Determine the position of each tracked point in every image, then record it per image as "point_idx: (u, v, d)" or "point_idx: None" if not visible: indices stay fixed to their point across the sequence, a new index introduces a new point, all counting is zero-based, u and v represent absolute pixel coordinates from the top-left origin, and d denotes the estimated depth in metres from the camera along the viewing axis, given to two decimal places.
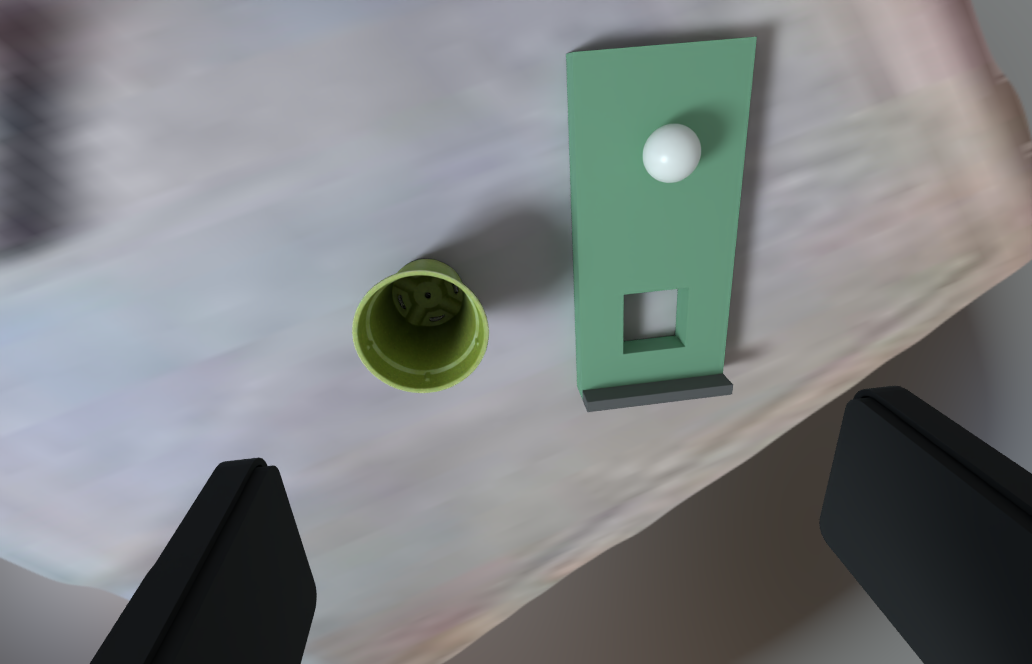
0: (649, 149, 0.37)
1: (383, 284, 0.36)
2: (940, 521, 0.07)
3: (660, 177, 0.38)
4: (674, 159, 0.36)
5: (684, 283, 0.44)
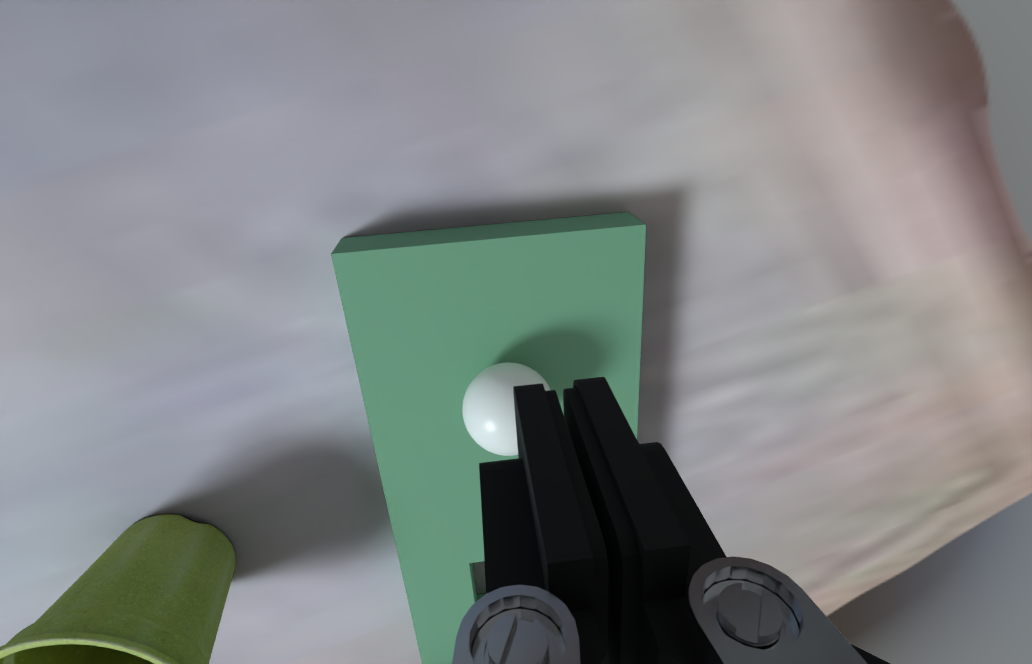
0: (465, 411, 0.22)
1: None
2: None
3: (488, 450, 0.23)
4: (501, 438, 0.21)
5: None
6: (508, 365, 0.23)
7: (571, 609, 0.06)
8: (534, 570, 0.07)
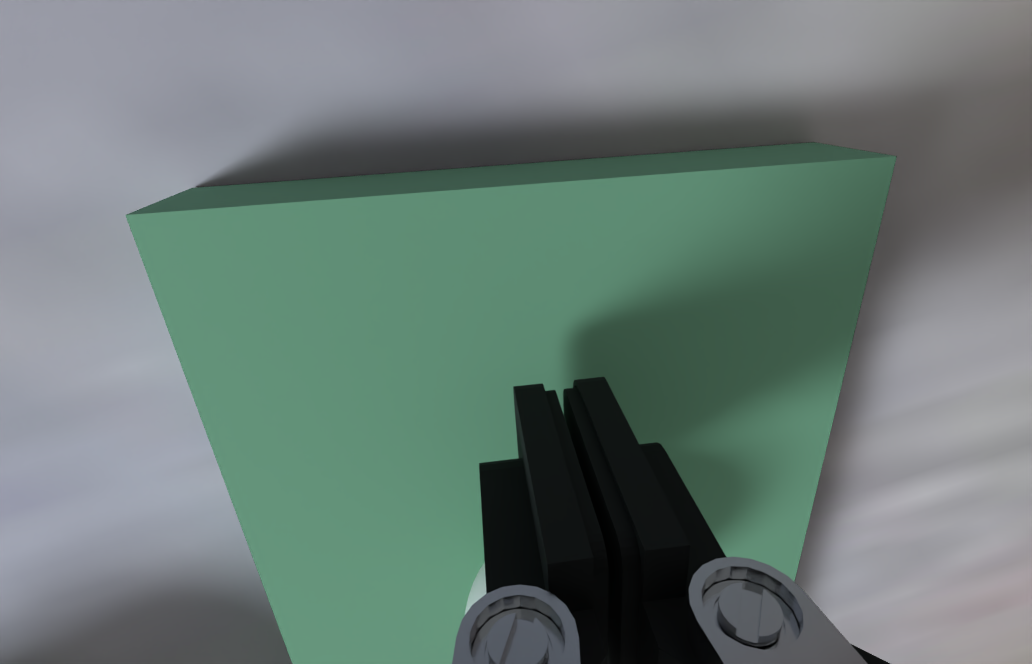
0: None
1: None
2: None
3: None
4: None
5: None
6: None
7: (571, 609, 0.06)
8: (534, 570, 0.07)
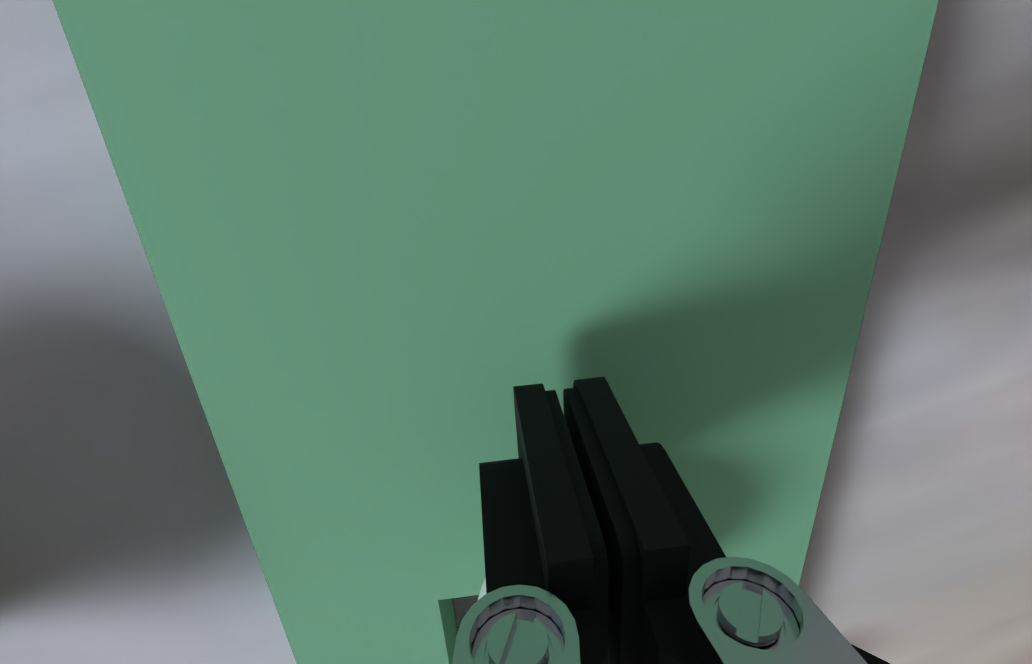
0: (479, 597, 0.11)
1: None
2: None
3: None
4: None
5: None
6: None
7: (571, 609, 0.06)
8: (534, 570, 0.07)
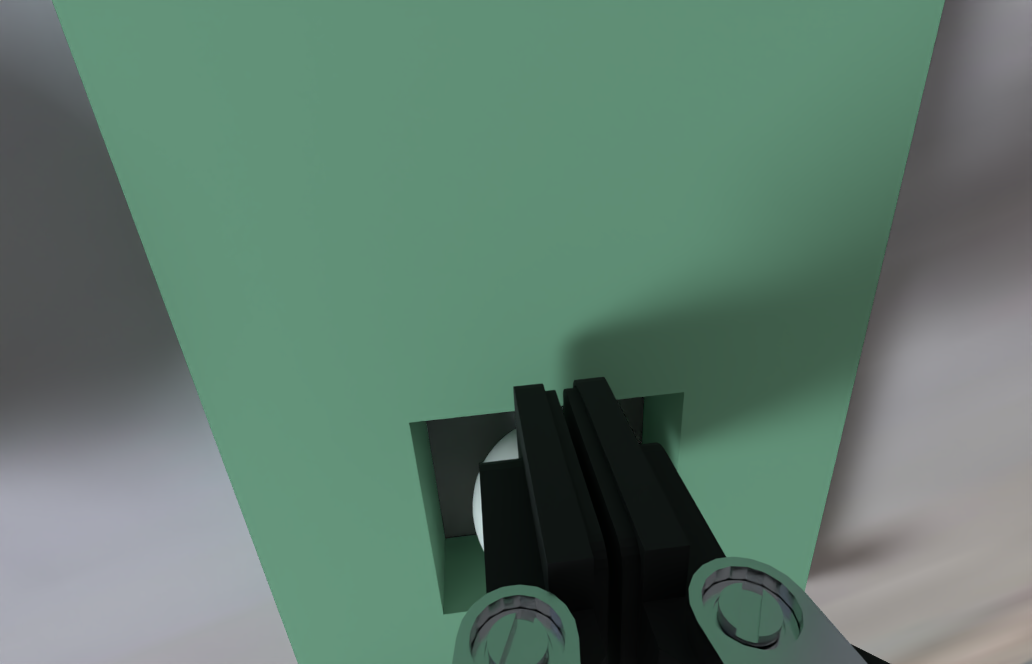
0: None
1: None
2: None
3: None
4: None
5: (665, 377, 0.11)
6: None
7: (571, 609, 0.06)
8: (534, 570, 0.07)
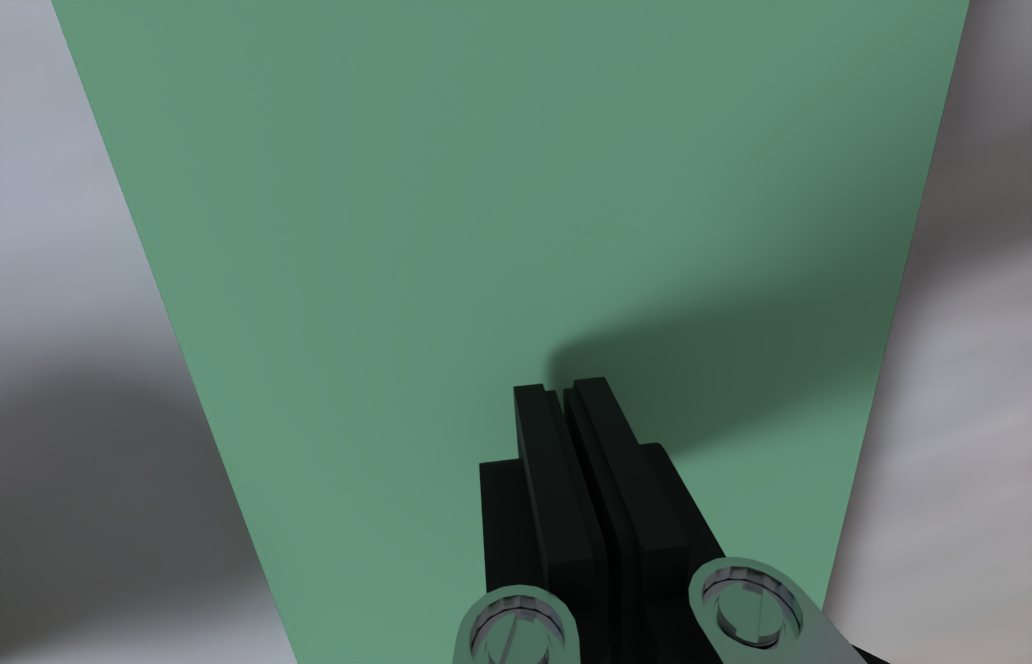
0: None
1: None
2: None
3: None
4: None
5: None
6: None
7: (571, 609, 0.06)
8: (534, 570, 0.07)
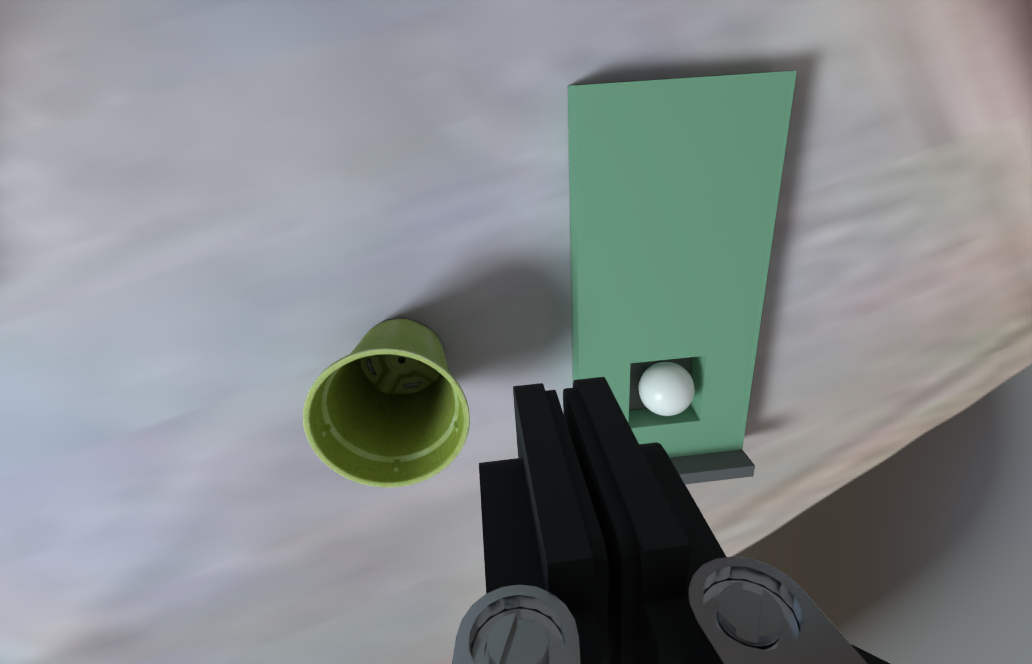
0: (644, 399, 0.39)
1: (340, 365, 0.29)
2: None
3: None
4: None
5: (701, 351, 0.38)
6: (676, 386, 0.38)
7: (571, 609, 0.06)
8: (534, 570, 0.07)
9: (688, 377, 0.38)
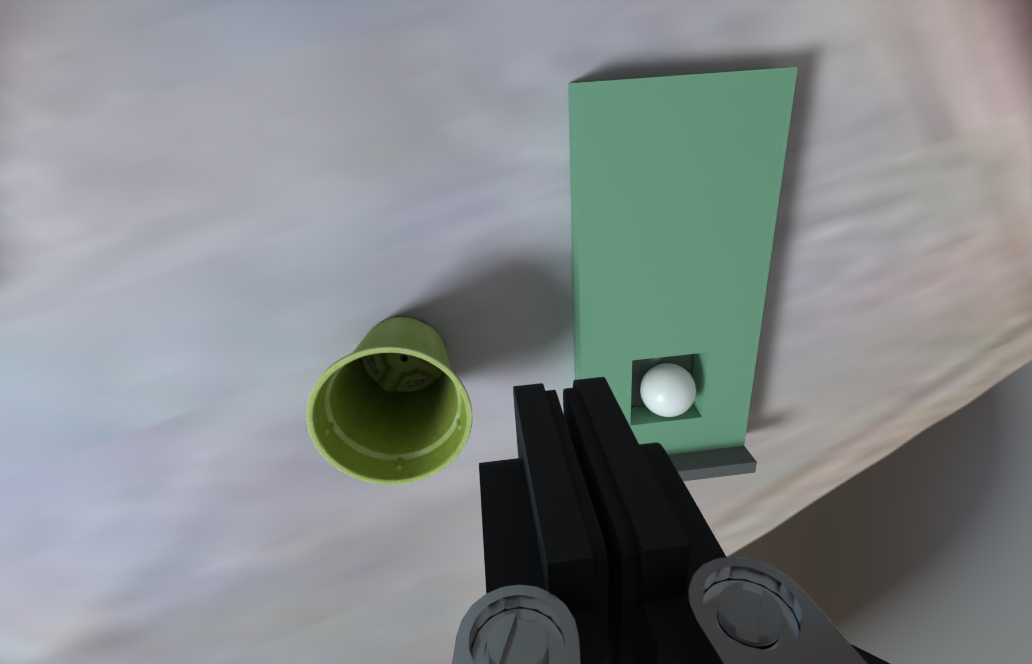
0: (645, 401, 0.39)
1: (343, 363, 0.29)
2: None
3: None
4: None
5: (703, 347, 0.38)
6: (678, 393, 0.38)
7: (571, 609, 0.06)
8: (534, 570, 0.07)
9: (690, 382, 0.39)
